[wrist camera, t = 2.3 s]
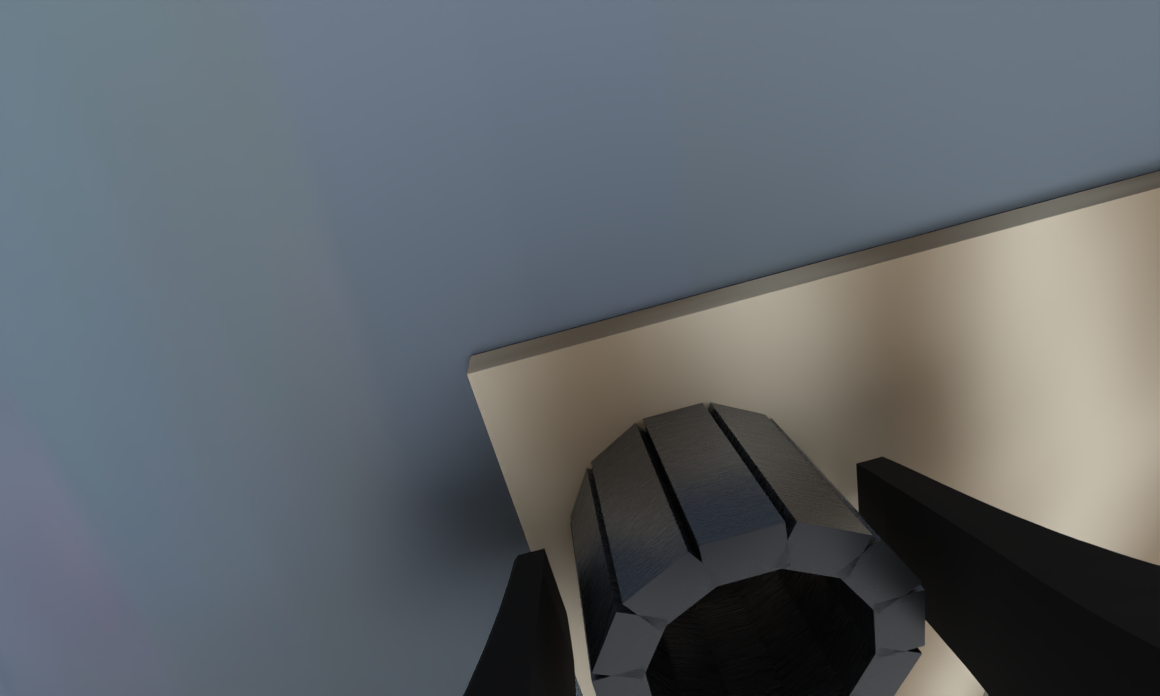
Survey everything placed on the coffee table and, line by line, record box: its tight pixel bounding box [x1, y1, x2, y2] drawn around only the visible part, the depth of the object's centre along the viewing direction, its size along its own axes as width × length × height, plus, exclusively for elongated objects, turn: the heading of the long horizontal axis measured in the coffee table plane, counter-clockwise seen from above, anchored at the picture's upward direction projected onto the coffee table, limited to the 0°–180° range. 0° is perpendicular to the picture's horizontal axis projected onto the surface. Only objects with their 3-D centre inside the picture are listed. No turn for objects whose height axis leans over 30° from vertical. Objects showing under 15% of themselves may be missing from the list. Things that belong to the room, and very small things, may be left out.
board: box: [467, 171, 1160, 696], centre depth 15 cm, size 18×20×1 cm
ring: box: [570, 402, 925, 696], centre depth 11 cm, size 6×6×4 cm
